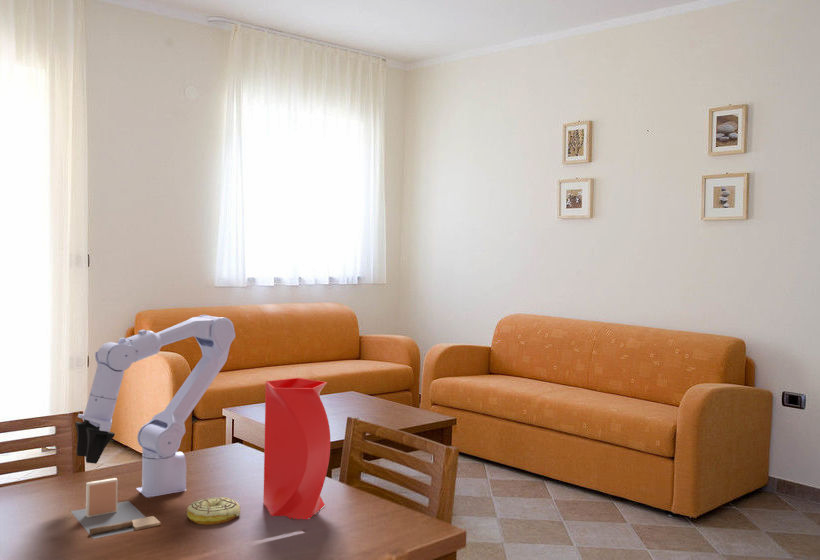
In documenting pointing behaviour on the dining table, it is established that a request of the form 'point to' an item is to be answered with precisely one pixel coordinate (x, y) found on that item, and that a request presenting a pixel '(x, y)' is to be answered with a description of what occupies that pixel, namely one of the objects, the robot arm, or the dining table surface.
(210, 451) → the dining table surface
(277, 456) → the vase
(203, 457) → the dining table surface
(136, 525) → the turner
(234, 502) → the decorated donut
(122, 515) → the mat
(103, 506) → the tile
